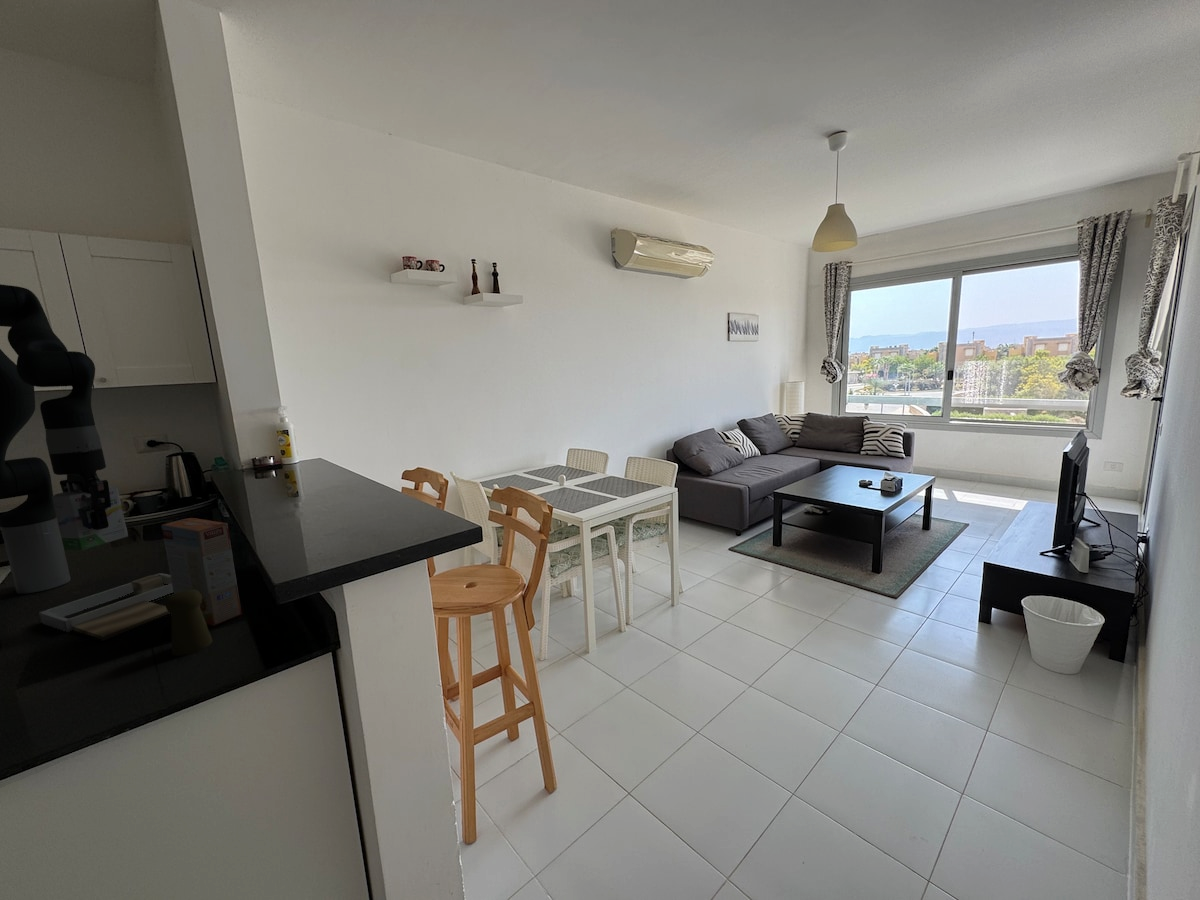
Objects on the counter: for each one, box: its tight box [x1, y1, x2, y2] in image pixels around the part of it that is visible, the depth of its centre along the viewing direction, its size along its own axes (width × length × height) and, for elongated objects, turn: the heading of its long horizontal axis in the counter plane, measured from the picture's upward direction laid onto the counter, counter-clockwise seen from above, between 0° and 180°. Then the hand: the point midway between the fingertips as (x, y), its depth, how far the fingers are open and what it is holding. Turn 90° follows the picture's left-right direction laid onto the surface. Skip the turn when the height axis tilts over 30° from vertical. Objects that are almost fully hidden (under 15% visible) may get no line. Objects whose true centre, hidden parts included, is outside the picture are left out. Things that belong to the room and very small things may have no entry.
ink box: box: [52, 485, 129, 551], centre depth 101 cm, size 9×5×12 cm, turn 168°
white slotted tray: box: [38, 572, 173, 633], centre depth 111 cm, size 12×22×2 cm, turn 157°
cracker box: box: [160, 517, 243, 627], centre depth 103 cm, size 14×6×21 cm, turn 65°
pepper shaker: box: [165, 590, 213, 657], centre depth 91 cm, size 6×6×11 cm
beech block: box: [131, 574, 164, 596], centre depth 116 cm, size 4×4×4 cm
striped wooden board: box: [73, 601, 170, 639], centre depth 103 cm, size 12×12×1 cm
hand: (93, 527), depth 102 cm, fingers closed on ink box, 5 cm apart
